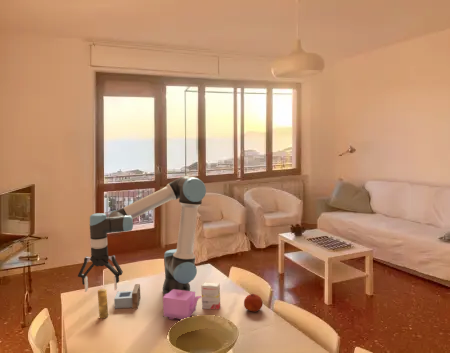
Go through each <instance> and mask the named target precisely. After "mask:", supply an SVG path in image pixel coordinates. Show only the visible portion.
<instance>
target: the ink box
mask: <svg viewBox="0 0 450 353" xmlns="http://www.w3.org/2000/svg"><path fill="white" fill-rule="evenodd" d="M220 286H221V285H220V283H219V282H205V281H204V282H203V283H202V284H201V287H200V288H201V289H200V291H201V296H202V297H201V307H202V310H205V309H206V310H207V309H208V310H220V307H221V287H220Z"/></svg>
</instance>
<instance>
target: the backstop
mask: <svg viewBox="0 0 450 353" xmlns="http://www.w3.org/2000/svg"><path fill="white" fill-rule="evenodd" d="M132 291H133V292H132V305H133V307H132V309H133V310H134V309H136V310H137V309H138V308H139V305H140V301H141V283H135V284H134V286H133V289H132Z"/></svg>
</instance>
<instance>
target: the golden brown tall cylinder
mask: <svg viewBox="0 0 450 353" xmlns="http://www.w3.org/2000/svg"><path fill="white" fill-rule="evenodd" d="M107 292H108V291H107V288H100V289H98V290H97V300H98V315H99V316H98V317H100V319H102V318H103V319H106V318H108V317H109V311H108V310H109V308H108V296H107V294H108V293H107Z"/></svg>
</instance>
